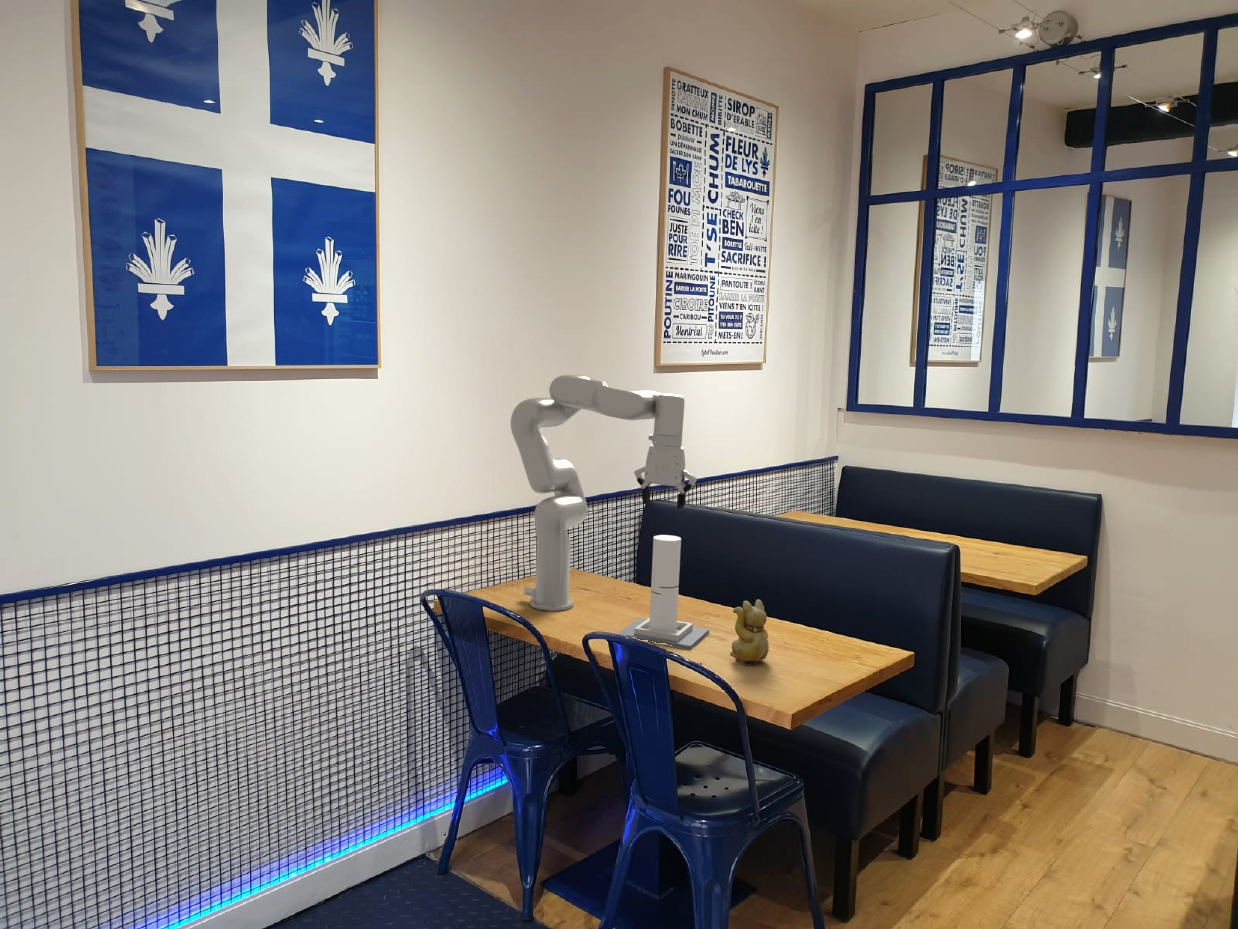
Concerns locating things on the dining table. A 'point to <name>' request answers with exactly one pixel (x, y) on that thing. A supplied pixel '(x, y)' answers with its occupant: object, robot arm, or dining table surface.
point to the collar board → (666, 634)
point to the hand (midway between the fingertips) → (663, 505)
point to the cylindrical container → (665, 583)
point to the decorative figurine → (750, 634)
